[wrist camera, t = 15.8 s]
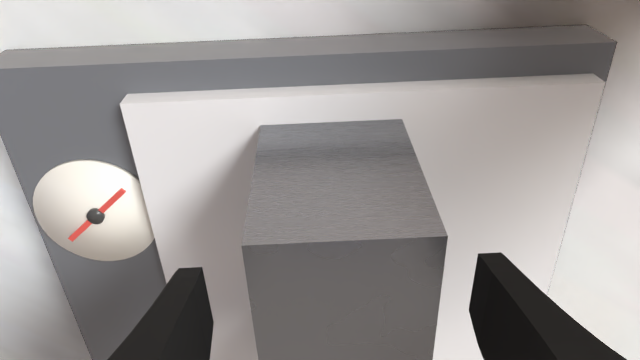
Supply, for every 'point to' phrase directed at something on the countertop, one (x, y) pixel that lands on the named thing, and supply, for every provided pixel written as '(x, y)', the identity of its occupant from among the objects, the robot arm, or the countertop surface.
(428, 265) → the block
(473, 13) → the countertop surface
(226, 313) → the scale
